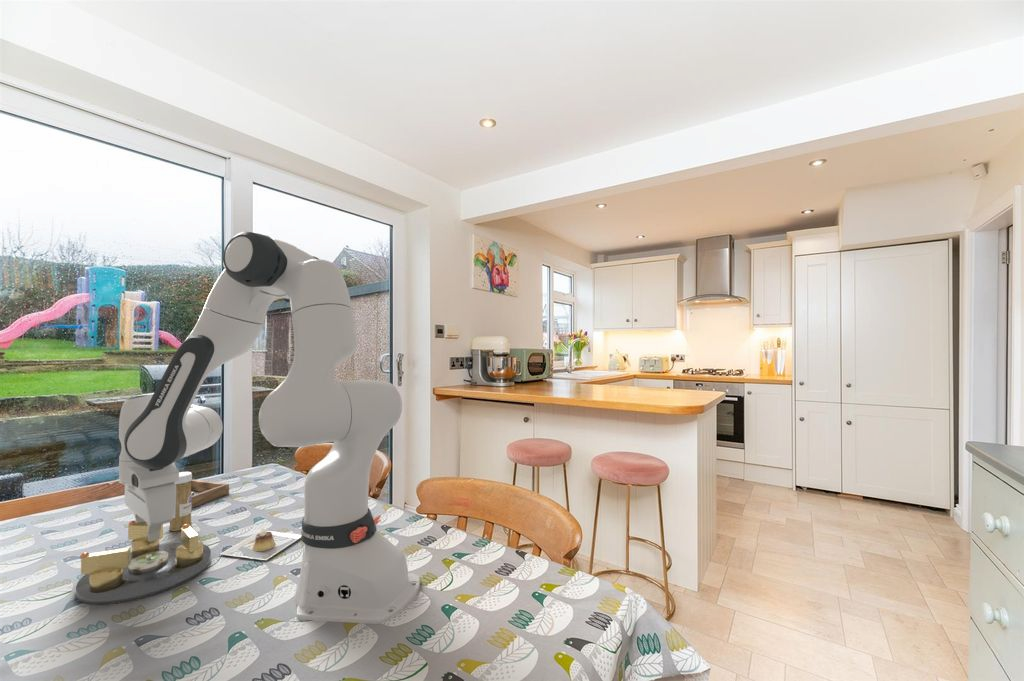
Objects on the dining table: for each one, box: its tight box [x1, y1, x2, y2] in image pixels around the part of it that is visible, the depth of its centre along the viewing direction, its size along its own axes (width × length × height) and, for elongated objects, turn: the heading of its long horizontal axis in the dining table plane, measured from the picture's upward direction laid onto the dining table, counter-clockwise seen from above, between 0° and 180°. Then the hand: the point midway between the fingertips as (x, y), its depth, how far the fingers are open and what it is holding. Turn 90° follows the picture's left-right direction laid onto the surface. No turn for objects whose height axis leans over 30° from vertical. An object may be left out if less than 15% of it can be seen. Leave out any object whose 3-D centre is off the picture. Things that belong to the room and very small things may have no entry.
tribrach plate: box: [75, 541, 212, 606], centre depth 84 cm, size 20×20×4 cm
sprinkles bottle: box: [168, 471, 193, 532], centre depth 105 cm, size 5×5×14 cm
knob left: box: [79, 546, 132, 593], centre depth 77 cm, size 7×4×7 cm, turn 115°
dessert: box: [218, 528, 302, 562], centre depth 96 cm, size 12×12×5 cm
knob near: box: [176, 524, 204, 567], centre depth 85 cm, size 7×4×7 cm, turn 50°
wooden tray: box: [191, 479, 230, 509], centre depth 123 cm, size 15×15×3 cm
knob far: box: [127, 520, 164, 558], centre depth 88 cm, size 7×4×7 cm, turn 85°
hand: (147, 535), depth 89 cm, fingers open, 6 cm apart
